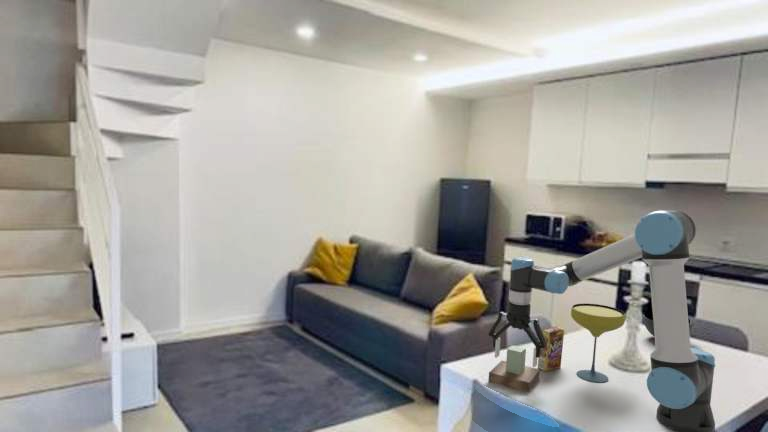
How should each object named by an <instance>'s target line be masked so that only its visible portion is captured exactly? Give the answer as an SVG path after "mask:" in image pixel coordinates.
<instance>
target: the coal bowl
mask: <svg viewBox="0 0 768 432" xmlns="http://www.w3.org/2000/svg"><path fill="white" fill-rule="evenodd" d="M642 322H643V324H644V326H645V328H646V330H647V332H648V333H649V334H651V336H653V337H654V338H655V334H654V322H653V310H652V300H651V301H649V302H648V304H647V309H646V311H645V312H644V314H643V315H642ZM688 322H689V334H690V333H691V331H692V329H693V326H694V322H693V321H691V319H690V318H689V317H688Z"/></svg>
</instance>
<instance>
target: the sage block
mask: <svg viewBox="0 0 768 432" xmlns="http://www.w3.org/2000/svg"><path fill="white" fill-rule="evenodd" d="M526 353H527V348H525V347H522V346H521V347H520V346H517V345H511V346H509V347H508V348H507V349H506V360H505V361H506V371H508V372H511V373H515V374H519V375H520V374H521V373H522V372H523V371H524V370H525V366H526Z"/></svg>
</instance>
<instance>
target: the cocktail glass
mask: <svg viewBox="0 0 768 432" xmlns="http://www.w3.org/2000/svg"><path fill="white" fill-rule="evenodd" d="M570 315H571V318H572V319H573V321H575V322H576V324H578V326H580V327H583V328H584V329H586V330H587V331H589V333H590V334H591V335H592V337H593V338H594V344H593V351H592V352H593V354H592V362H591V363H592V365H591V369H581V370H578V371H577V372H576V375H577V376H578V377H579V378H580V379H582V380H584V381H588V382H591V383H599V384H600V383H602V384H603V383H607V382H608V381H609V377H608V376H607V375H606V374H604V373H602V372H599V371H596V370H595V363H596V351H597V350H596V347H597V338H600V337H601V336H602V335H603V334H605V333H607V332H612V331H615V330H618V329H620V328H622V327H623V326H624V325H625V322H626V314H625V312H624V311H623V310H621V309H618V308H616V307H611V306H608V305H603V304H598V303H577V304H573V305H572V307H571V310H570Z"/></svg>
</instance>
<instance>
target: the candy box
mask: <svg viewBox="0 0 768 432" xmlns="http://www.w3.org/2000/svg"><path fill="white" fill-rule="evenodd" d="M541 331H542V333H543V336H544V338H545V341H546V343H547V346H546V347H545V348H541V356H540V357H539V358H537V369H540V371H541V370H542V371H544V372H548V371H551V370H556V369H560V368H561V366H562V358H563V357H562V356H563V345H564V337H565V329H564V328H562V327H560V326H551V327H547V328H541Z"/></svg>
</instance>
